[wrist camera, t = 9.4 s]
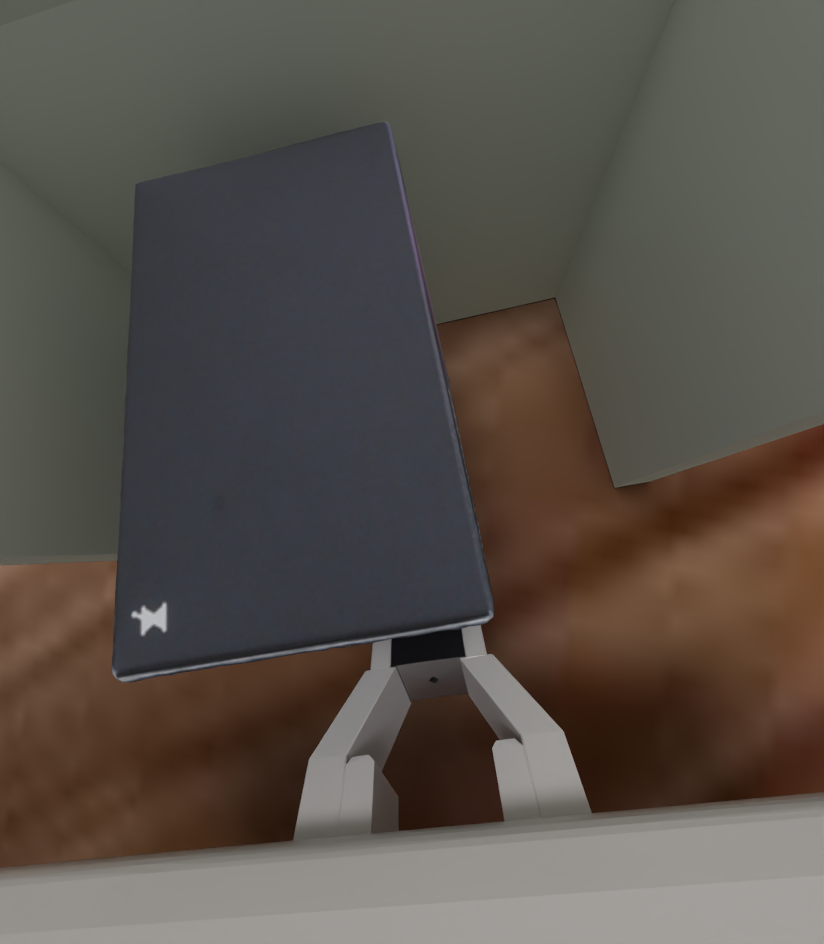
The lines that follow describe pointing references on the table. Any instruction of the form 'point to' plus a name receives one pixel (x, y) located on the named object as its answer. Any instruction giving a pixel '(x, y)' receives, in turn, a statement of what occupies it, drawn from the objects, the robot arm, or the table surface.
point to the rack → (430, 203)
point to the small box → (287, 418)
